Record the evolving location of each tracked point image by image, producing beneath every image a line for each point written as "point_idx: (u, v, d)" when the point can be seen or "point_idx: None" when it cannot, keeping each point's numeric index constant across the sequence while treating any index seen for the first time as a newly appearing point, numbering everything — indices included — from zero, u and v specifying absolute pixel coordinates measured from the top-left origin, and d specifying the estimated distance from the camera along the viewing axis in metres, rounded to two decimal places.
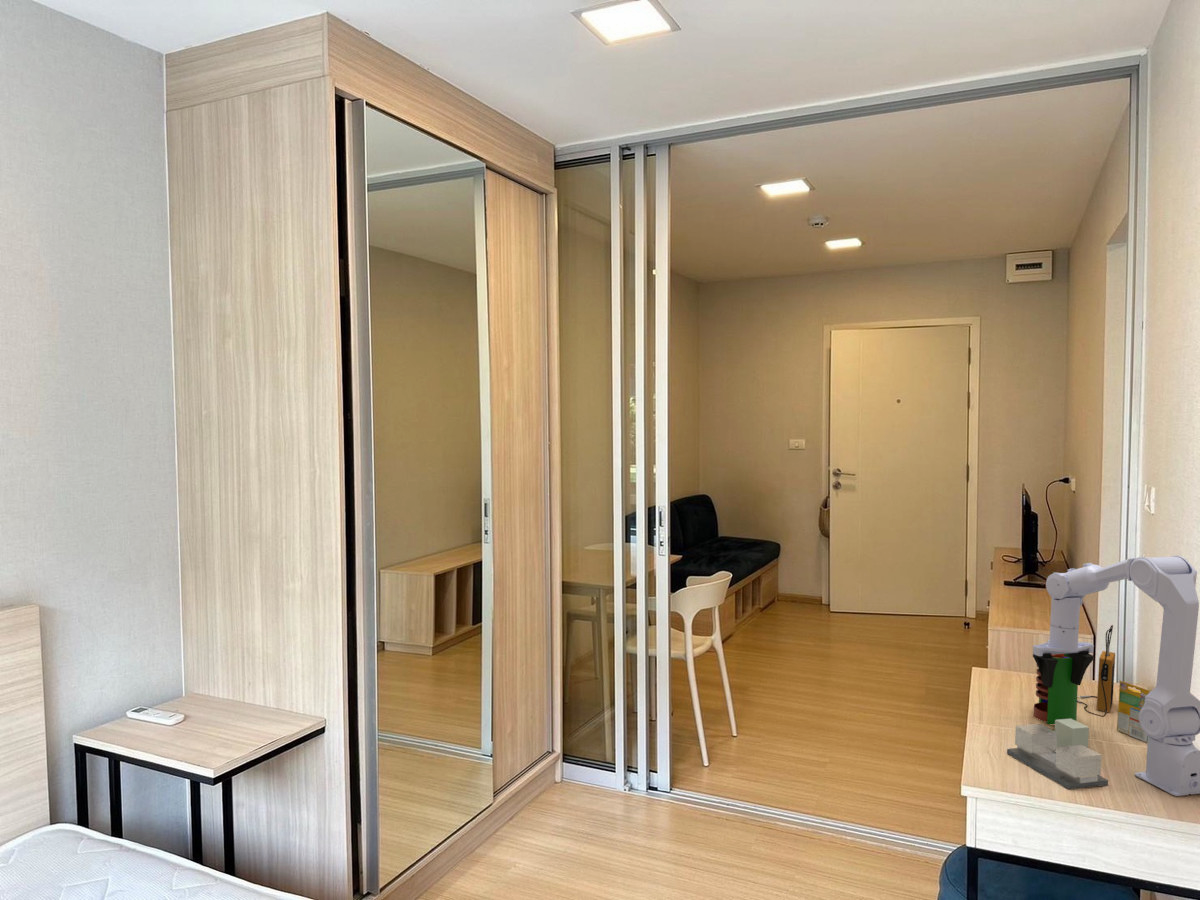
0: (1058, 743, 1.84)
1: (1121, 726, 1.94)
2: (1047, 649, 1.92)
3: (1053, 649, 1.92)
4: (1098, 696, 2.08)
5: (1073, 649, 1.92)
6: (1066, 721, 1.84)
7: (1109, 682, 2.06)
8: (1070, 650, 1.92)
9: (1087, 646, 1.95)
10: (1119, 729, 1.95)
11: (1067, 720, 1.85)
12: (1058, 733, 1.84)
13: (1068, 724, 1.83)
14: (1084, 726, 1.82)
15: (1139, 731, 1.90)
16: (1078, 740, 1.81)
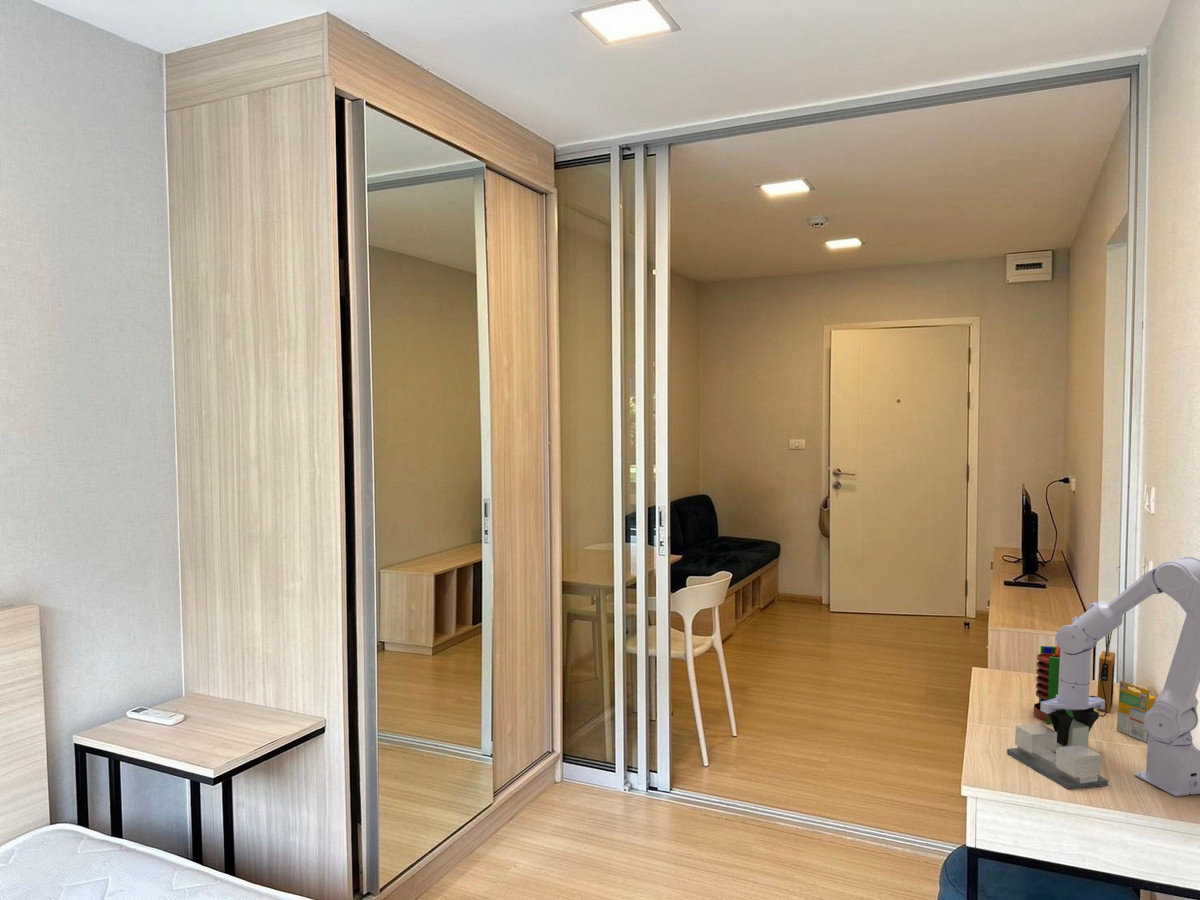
0: None
1: (1121, 726, 1.94)
2: (1056, 706, 1.80)
3: (1062, 706, 1.80)
4: (1098, 696, 2.08)
5: (1083, 706, 1.80)
6: None
7: (1109, 682, 2.06)
8: (1080, 707, 1.80)
9: (1098, 702, 1.83)
10: (1119, 729, 1.95)
11: None
12: None
13: None
14: (1084, 726, 1.82)
15: (1139, 731, 1.90)
16: (1078, 739, 1.81)
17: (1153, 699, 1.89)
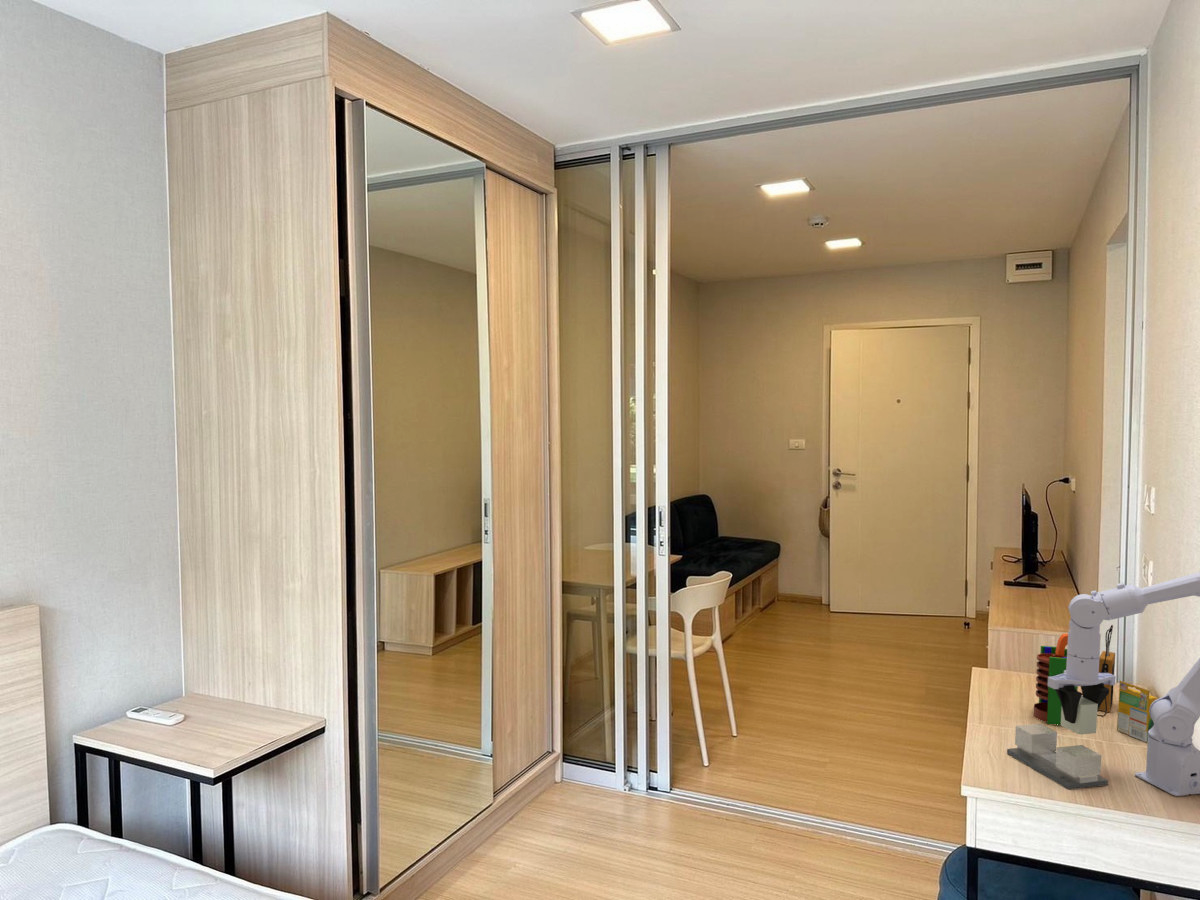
0: (1065, 720, 1.76)
1: (1121, 726, 1.94)
2: (1064, 681, 1.72)
3: (1070, 681, 1.72)
4: None
5: (1093, 681, 1.72)
6: None
7: None
8: (1089, 683, 1.71)
9: (1108, 678, 1.74)
10: (1119, 729, 1.95)
11: None
12: None
13: None
14: (1092, 703, 1.73)
15: (1139, 731, 1.90)
16: (1086, 717, 1.73)
17: (1153, 699, 1.89)
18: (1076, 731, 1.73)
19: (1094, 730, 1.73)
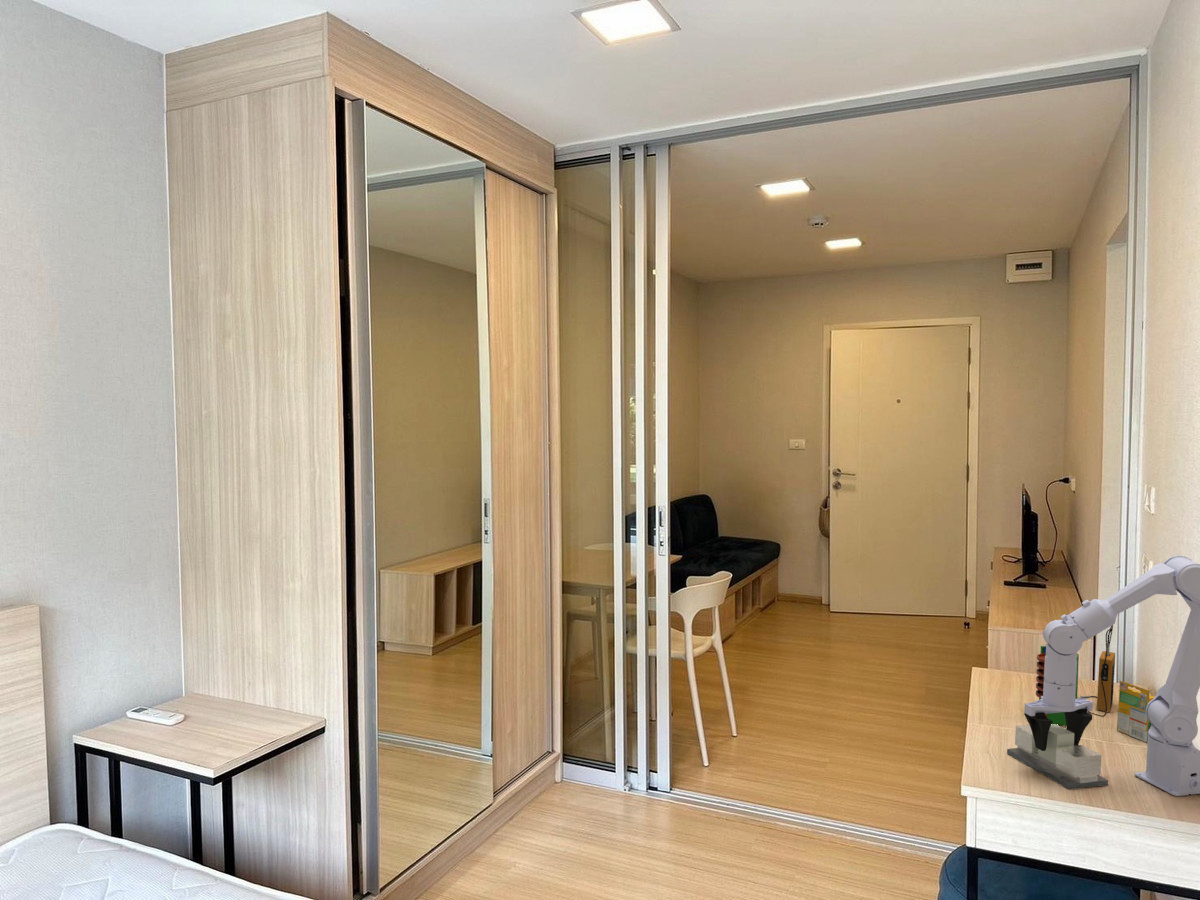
0: None
1: (1121, 726, 1.94)
2: (1040, 708, 1.71)
3: (1047, 708, 1.71)
4: (1098, 696, 2.08)
5: (1069, 708, 1.71)
6: (1050, 727, 1.75)
7: (1109, 682, 2.06)
8: (1066, 709, 1.70)
9: (1085, 704, 1.73)
10: (1119, 729, 1.95)
11: (1052, 726, 1.76)
12: None
13: (1053, 730, 1.74)
14: (1069, 732, 1.73)
15: (1139, 731, 1.90)
16: None
17: None
18: (1053, 761, 1.72)
19: None
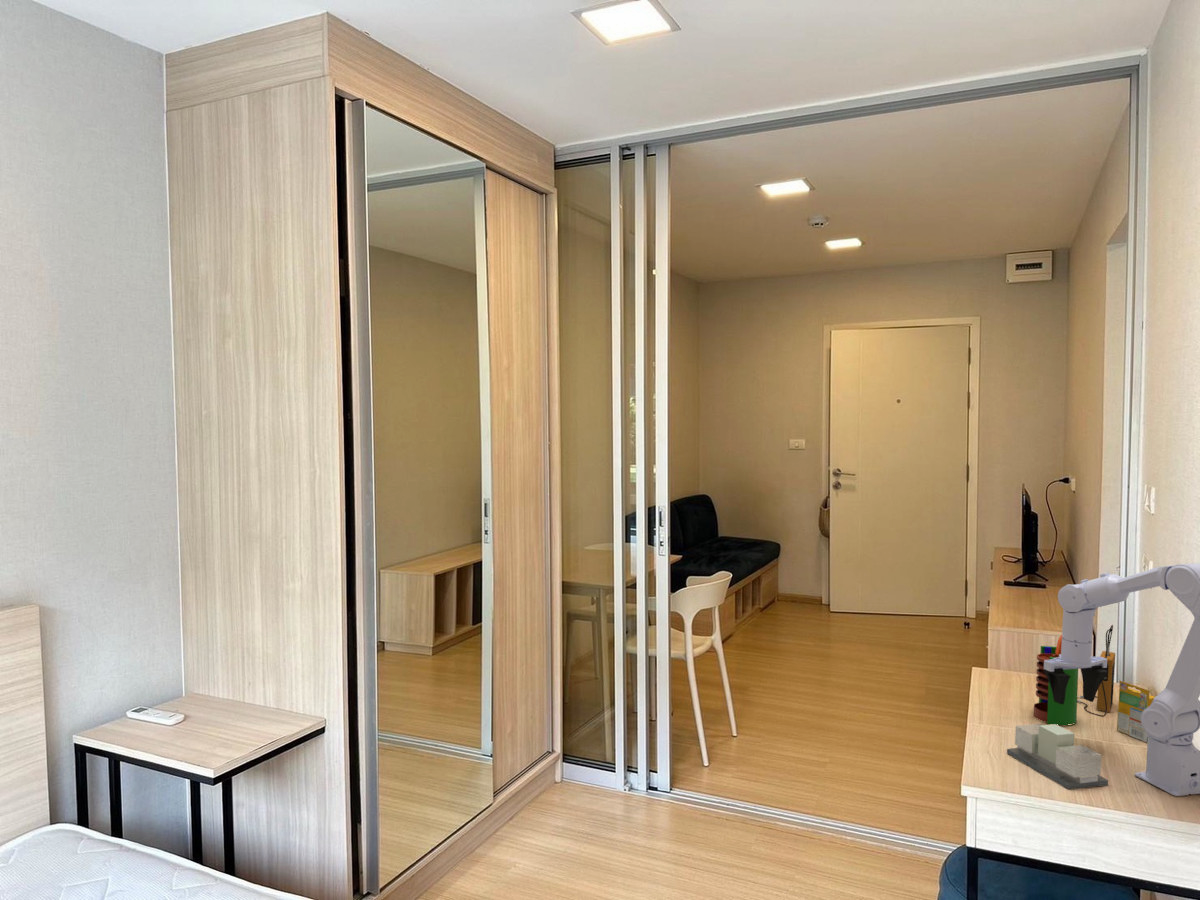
0: (1042, 749, 1.75)
1: (1121, 726, 1.94)
2: (1059, 664, 1.83)
3: (1065, 664, 1.83)
4: (1098, 696, 2.08)
5: (1086, 664, 1.83)
6: (1050, 727, 1.75)
7: (1109, 682, 2.06)
8: (1083, 665, 1.83)
9: (1100, 661, 1.86)
10: (1119, 729, 1.95)
11: (1052, 726, 1.76)
12: (1042, 739, 1.75)
13: (1053, 730, 1.74)
14: (1069, 732, 1.73)
15: (1139, 731, 1.90)
16: None
17: None
18: (1053, 761, 1.72)
19: None
